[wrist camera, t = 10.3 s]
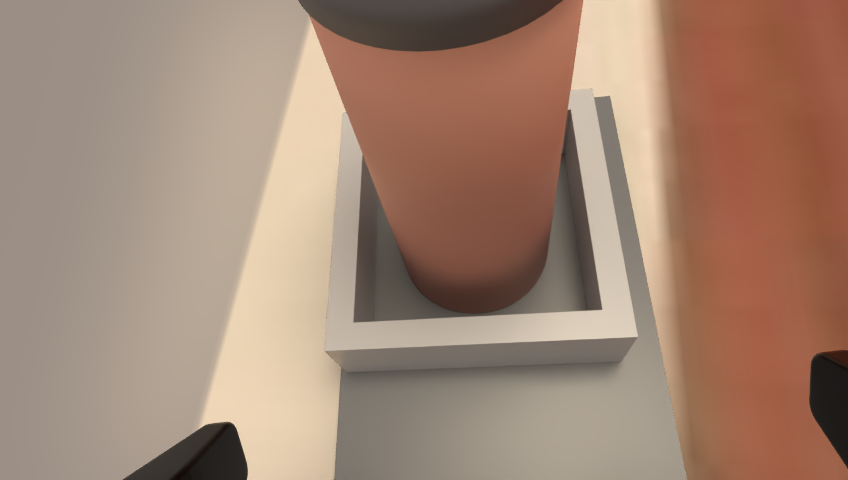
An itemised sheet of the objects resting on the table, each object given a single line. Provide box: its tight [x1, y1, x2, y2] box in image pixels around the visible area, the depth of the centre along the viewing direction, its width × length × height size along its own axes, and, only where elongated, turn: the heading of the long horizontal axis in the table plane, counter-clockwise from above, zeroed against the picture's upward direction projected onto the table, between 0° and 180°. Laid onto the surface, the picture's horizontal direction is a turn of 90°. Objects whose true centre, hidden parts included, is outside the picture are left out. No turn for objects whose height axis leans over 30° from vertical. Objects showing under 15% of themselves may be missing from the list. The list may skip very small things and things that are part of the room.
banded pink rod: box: [298, 0, 583, 313], centre depth 13 cm, size 5×5×14 cm
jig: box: [324, 88, 687, 480], centre depth 18 cm, size 18×10×4 cm, turn 0°
